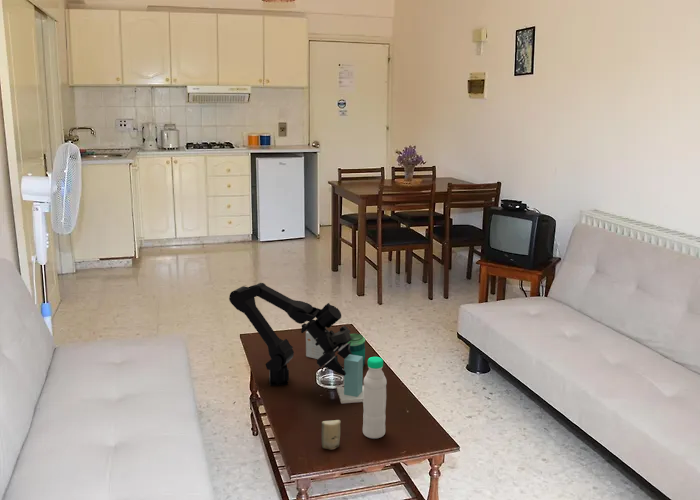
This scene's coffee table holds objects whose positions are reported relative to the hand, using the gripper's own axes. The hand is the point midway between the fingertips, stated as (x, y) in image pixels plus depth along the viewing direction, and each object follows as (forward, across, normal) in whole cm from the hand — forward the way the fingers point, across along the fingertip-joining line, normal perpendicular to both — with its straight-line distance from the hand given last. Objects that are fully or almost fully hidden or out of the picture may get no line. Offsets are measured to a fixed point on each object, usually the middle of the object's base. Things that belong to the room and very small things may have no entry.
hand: (349, 369), depth 222 cm
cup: (+2, +24, +12) cm, 27 cm away
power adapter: (+12, -33, +2) cm, 35 cm away
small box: (-10, +27, +24) cm, 37 cm away
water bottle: (+18, -21, -5) cm, 29 cm away
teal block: (+7, 0, +5) cm, 9 cm away
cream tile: (+8, 0, +6) cm, 10 cm away
